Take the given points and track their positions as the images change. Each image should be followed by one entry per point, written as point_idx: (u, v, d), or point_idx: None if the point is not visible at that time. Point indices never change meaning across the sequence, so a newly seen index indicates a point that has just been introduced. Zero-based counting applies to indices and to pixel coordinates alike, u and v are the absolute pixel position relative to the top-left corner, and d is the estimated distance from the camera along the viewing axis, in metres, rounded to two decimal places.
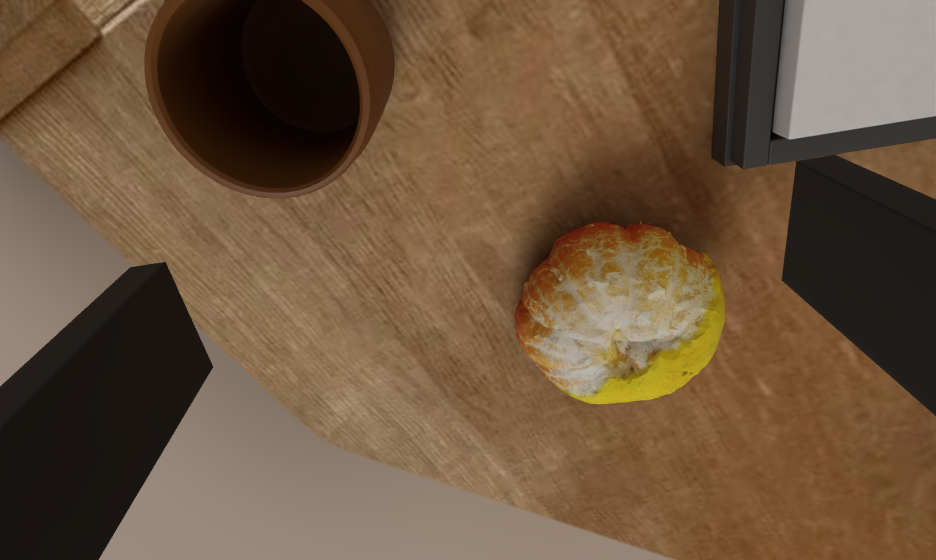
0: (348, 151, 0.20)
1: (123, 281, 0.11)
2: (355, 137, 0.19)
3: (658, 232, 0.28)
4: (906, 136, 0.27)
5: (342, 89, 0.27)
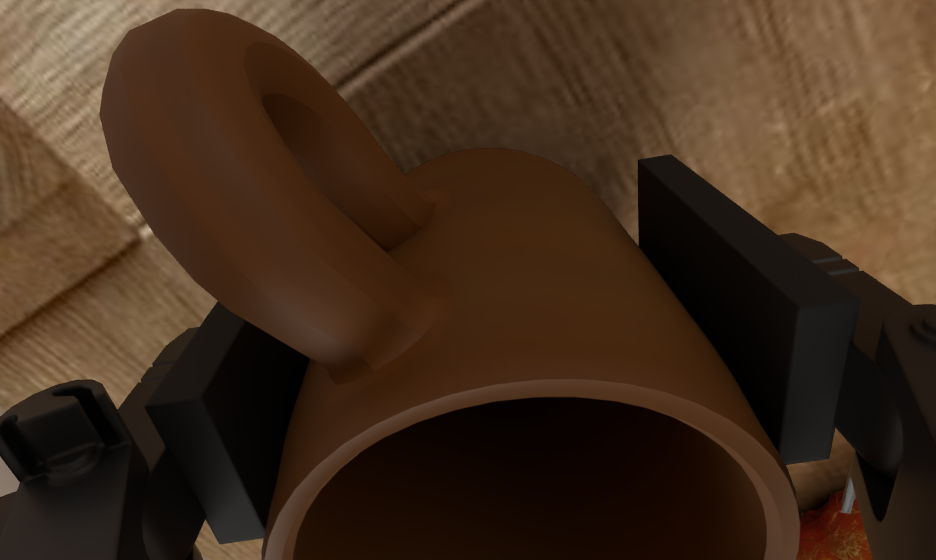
0: None
1: None
2: None
3: None
4: None
5: None
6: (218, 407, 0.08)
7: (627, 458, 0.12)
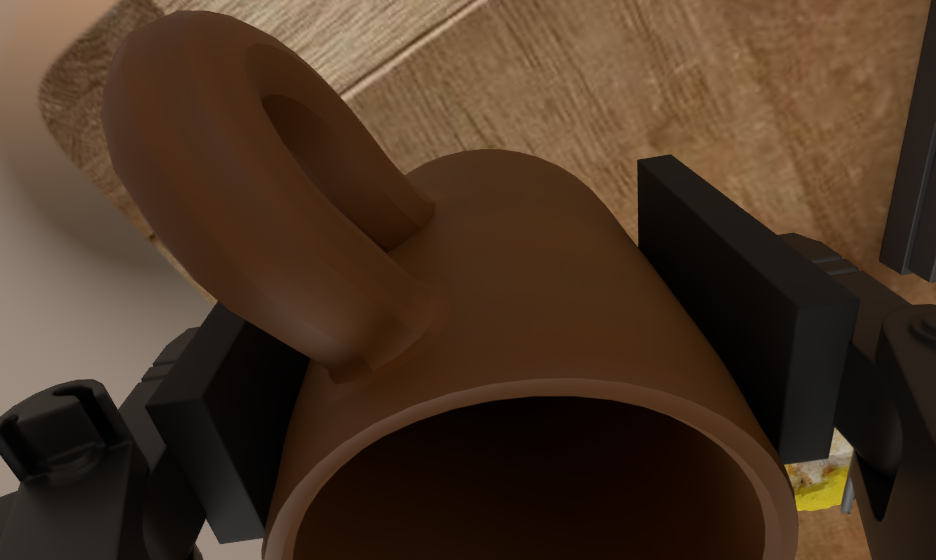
0: None
1: None
2: None
3: None
4: None
5: None
6: (218, 407, 0.08)
7: (627, 458, 0.12)
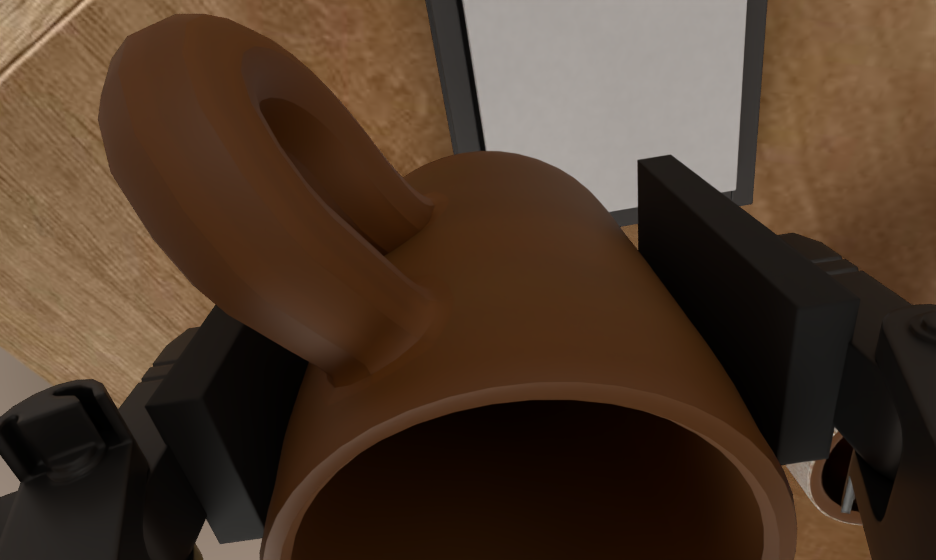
0: None
1: None
2: None
3: None
4: None
5: None
6: (218, 407, 0.08)
7: (626, 460, 0.12)
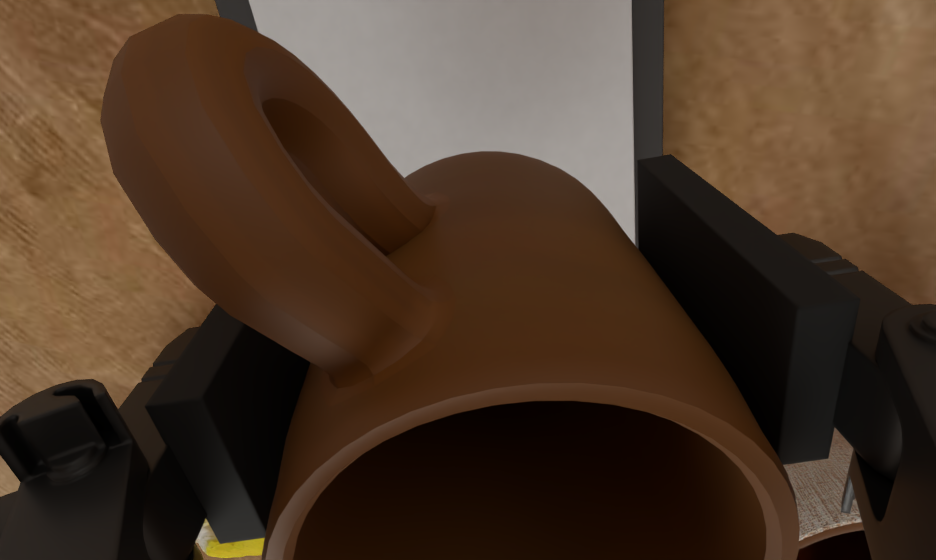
0: None
1: None
2: None
3: None
4: None
5: None
6: (218, 407, 0.08)
7: (627, 461, 0.12)
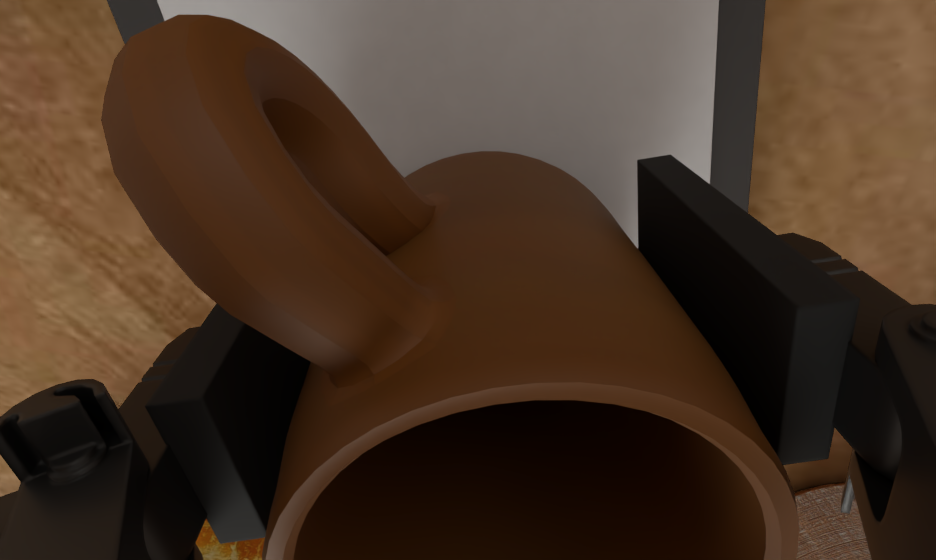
0: None
1: None
2: None
3: None
4: None
5: None
6: (219, 406, 0.08)
7: (627, 460, 0.12)
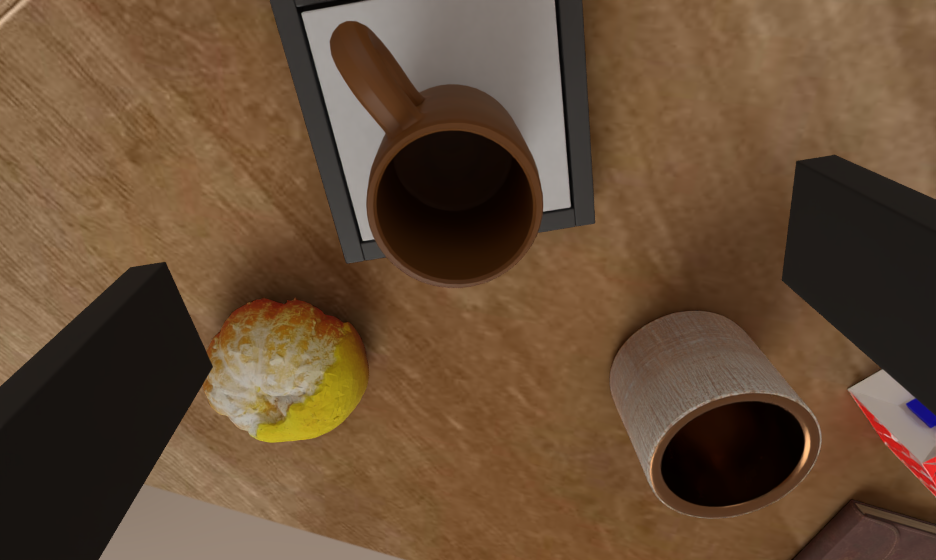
0: (517, 253, 0.24)
1: (123, 281, 0.11)
2: (525, 243, 0.24)
3: (293, 310, 0.36)
4: None
5: (472, 176, 0.32)
6: None
7: (510, 216, 0.28)
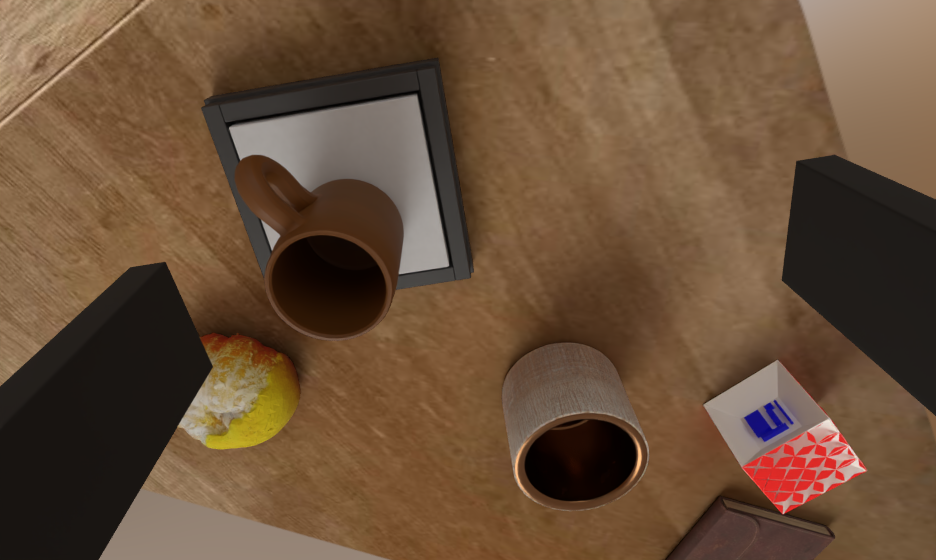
0: (378, 317, 0.33)
1: (123, 281, 0.11)
2: (382, 310, 0.33)
3: (234, 344, 0.45)
4: None
5: None
6: None
7: None
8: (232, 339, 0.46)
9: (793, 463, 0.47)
